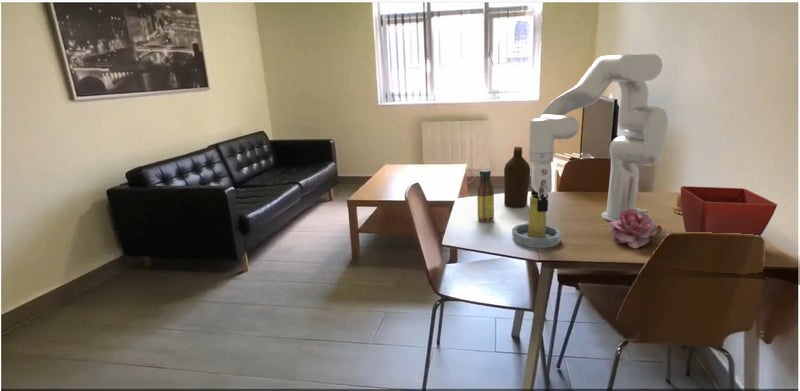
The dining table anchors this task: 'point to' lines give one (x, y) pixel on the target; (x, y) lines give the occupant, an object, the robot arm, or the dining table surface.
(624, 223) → the flower
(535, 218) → the vase
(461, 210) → the dining table surface
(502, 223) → the dining table surface
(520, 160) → the olive oil
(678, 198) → the ornamental finial
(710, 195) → the plant pot
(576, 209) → the dining table surface
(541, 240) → the round tray
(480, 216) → the sauce bottle
